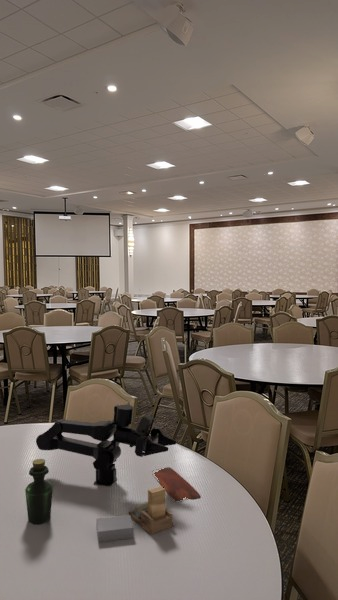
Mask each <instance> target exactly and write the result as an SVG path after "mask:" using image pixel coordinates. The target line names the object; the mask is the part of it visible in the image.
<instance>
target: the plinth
mask: <svg viewBox="0 0 338 600" xmlns="http://www.w3.org/2000/svg"><path fill="white" fill-rule="evenodd" d="M132 520H133V519H132V518H131V516H130V515H129V514H125V515H118V516H117V515H116V516H107V517H100V518H99V517H98V518H96V527H95V528H96V537H97V543H101V542H102V543H103V542H110V541H111V542H112V541H118V540H125V539H126V540H127V539H134V536H135V534H134V533H135V532H134V529H135V528H134V524H133V521H132Z"/></svg>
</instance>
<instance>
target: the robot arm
mask: <svg viewBox="0 0 338 600" xmlns="http://www.w3.org/2000/svg"><path fill="white" fill-rule="evenodd" d="M113 412H114V413H113V419H112V420H100V421H96V422H88V421H87V422H86V421H79V420H78V421H77V420H70V419H69V420H68V419H65V418H61V419H59V420H58V421H56V422H54V423H53V425H52V426H51V427H49V429H47V430H46V431H45V432H42V433H40V434H38V436H37V437H36V439H35V442H36V443H35V444H36V446H37V448H38V449H39V450H40V451H53V450H54V451H55V450H60V451H61V450H62V451H65V452H69V453H75V454H78V455H79V454H80V455H83V456H88V457H92V458H93V459H95V460H94V461H93V462H92V465H93V468H94V469H95V481H94V482H93V484H94V485H100V486H105V487H111V486H112V485H113V484H114V483H115V481H117V480H118V478H117V468H116V464H115V462H117V459H118V458H120V456H121V455H122V449H121V446H120V444H123V445H129V448H135V449H134V453H135V456H137V457H141V458H143V457H147V456H151V455H156V454H160V453H165V452H168V451H169V447H168V446H173V445H177V441H176V440H175V439H173V438H171V437H169V435H166V434H165V433H164V431H163V430H164V429H163V428H162V427H161V426H155V427H154V428H152V429H150V427H151V426H152V423H153V422H154V421H155V418H154V417H153V415H151V414H148V413H146V414H145V415H144V414H143V416H142V417H141V419H140V420H139V423H138V425H137V426H136V427H135V428H133V427H129V426H130V425H131V424H133V418H134V417H133V416H134V406H133V405H131V404H120V405H119V404H116V405H114V407H113ZM63 433H66V434H73V435H81V436H82V435H83V436H88V437H91V438H92V439H93V440H96V441H100V442H99V443H96V442H95V443H94V442H90V441H86V440H81V439H76V438H72V437H67V436H64V435H63ZM112 437H113V439H112V440H109V439H111V438H112Z"/></svg>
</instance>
